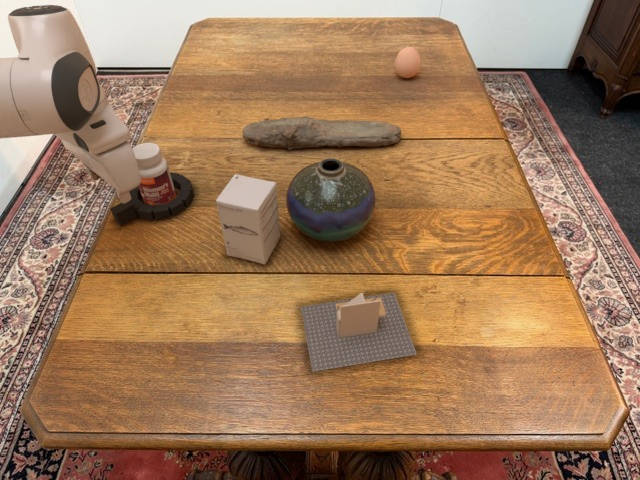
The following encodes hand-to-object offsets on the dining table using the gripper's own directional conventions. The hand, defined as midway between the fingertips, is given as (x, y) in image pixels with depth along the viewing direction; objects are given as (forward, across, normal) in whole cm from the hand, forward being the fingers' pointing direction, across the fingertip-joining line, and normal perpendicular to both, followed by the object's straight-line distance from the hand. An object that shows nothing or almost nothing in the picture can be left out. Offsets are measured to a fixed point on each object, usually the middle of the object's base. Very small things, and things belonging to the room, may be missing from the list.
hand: (110, 188), depth 82 cm
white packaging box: (+8, +23, +12) cm, 27 cm away
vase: (+8, +29, +25) cm, 39 cm away
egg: (+7, +5, +81) cm, 81 cm away
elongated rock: (+7, +9, +44) cm, 46 cm away
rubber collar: (+7, 0, +7) cm, 10 cm away
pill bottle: (+8, 0, +8) cm, 11 cm away
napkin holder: (+8, +47, +11) cm, 49 cm away
